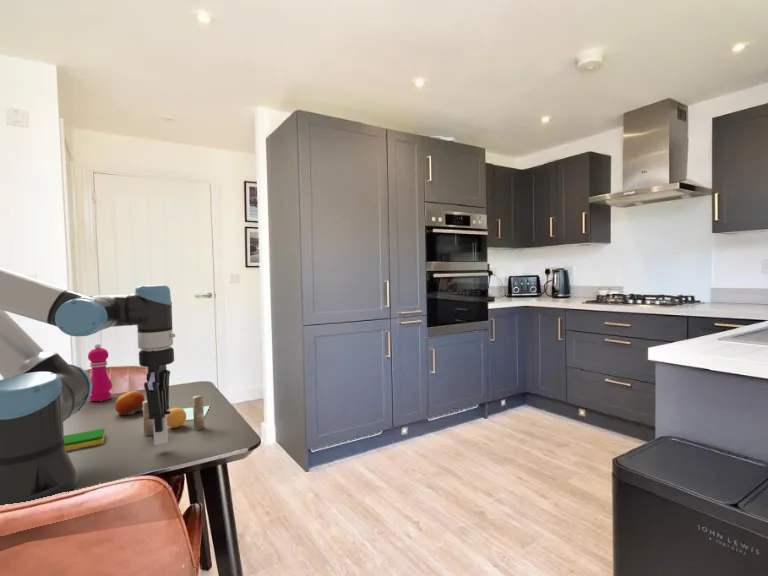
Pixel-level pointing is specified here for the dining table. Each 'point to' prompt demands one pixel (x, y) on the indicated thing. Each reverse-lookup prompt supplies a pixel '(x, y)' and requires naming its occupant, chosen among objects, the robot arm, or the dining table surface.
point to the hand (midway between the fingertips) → (161, 442)
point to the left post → (147, 420)
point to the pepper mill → (99, 374)
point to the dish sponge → (84, 439)
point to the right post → (198, 412)
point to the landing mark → (190, 412)
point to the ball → (176, 417)
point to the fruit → (129, 403)
